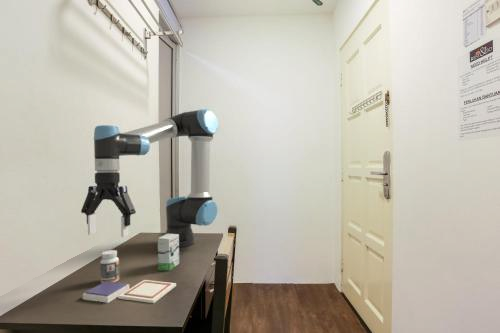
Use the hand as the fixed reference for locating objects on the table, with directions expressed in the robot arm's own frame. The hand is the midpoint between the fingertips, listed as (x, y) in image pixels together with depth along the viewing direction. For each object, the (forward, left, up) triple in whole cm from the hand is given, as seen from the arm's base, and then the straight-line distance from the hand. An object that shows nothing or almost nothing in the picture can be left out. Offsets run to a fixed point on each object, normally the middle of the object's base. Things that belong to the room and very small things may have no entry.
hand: (108, 234), depth 98 cm
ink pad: (+8, +7, -16) cm, 19 cm away
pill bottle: (0, 0, -16) cm, 16 cm away
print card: (+4, +18, -16) cm, 24 cm away
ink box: (-17, +12, -16) cm, 26 cm away
